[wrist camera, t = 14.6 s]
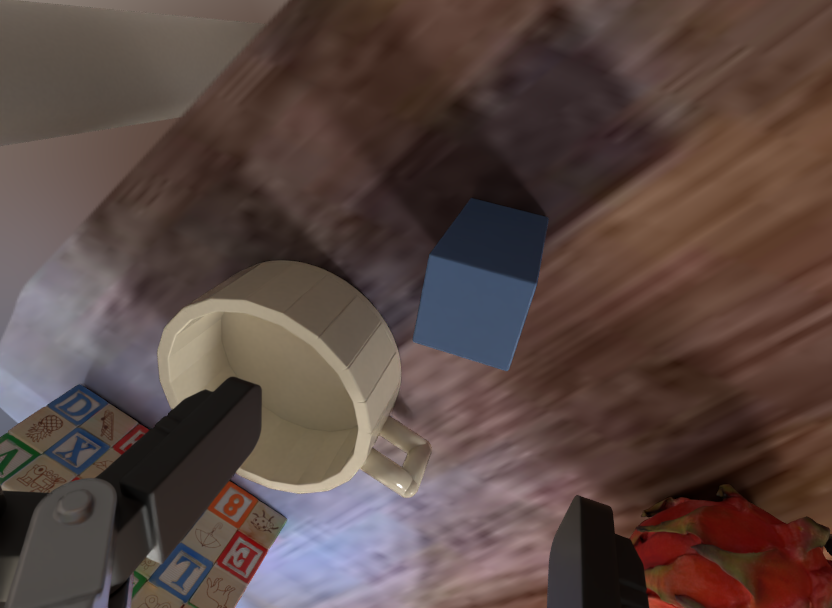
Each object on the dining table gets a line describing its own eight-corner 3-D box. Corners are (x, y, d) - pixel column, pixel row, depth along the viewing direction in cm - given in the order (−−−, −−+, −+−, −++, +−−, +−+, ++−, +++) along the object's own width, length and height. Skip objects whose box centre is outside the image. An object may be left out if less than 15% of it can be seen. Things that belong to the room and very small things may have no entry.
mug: (196, 363, 36) (139, 409, 31) (250, 217, 29) (187, 249, 24) (389, 491, 36) (362, 556, 31) (491, 378, 29) (475, 441, 24)
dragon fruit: (839, 503, 28) (617, 488, 34) (863, 479, 21) (586, 467, 28) (881, 686, 24) (624, 632, 30) (926, 722, 18) (590, 644, 24)
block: (454, 267, 26) (411, 342, 20) (470, 197, 24) (428, 253, 18) (526, 287, 26) (508, 372, 19) (549, 217, 24) (537, 283, 17)
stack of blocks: (72, 422, 44) (-84, 537, 34) (80, 380, 41) (-90, 493, 30) (267, 551, 45) (172, 704, 34) (290, 519, 41) (193, 677, 31)
